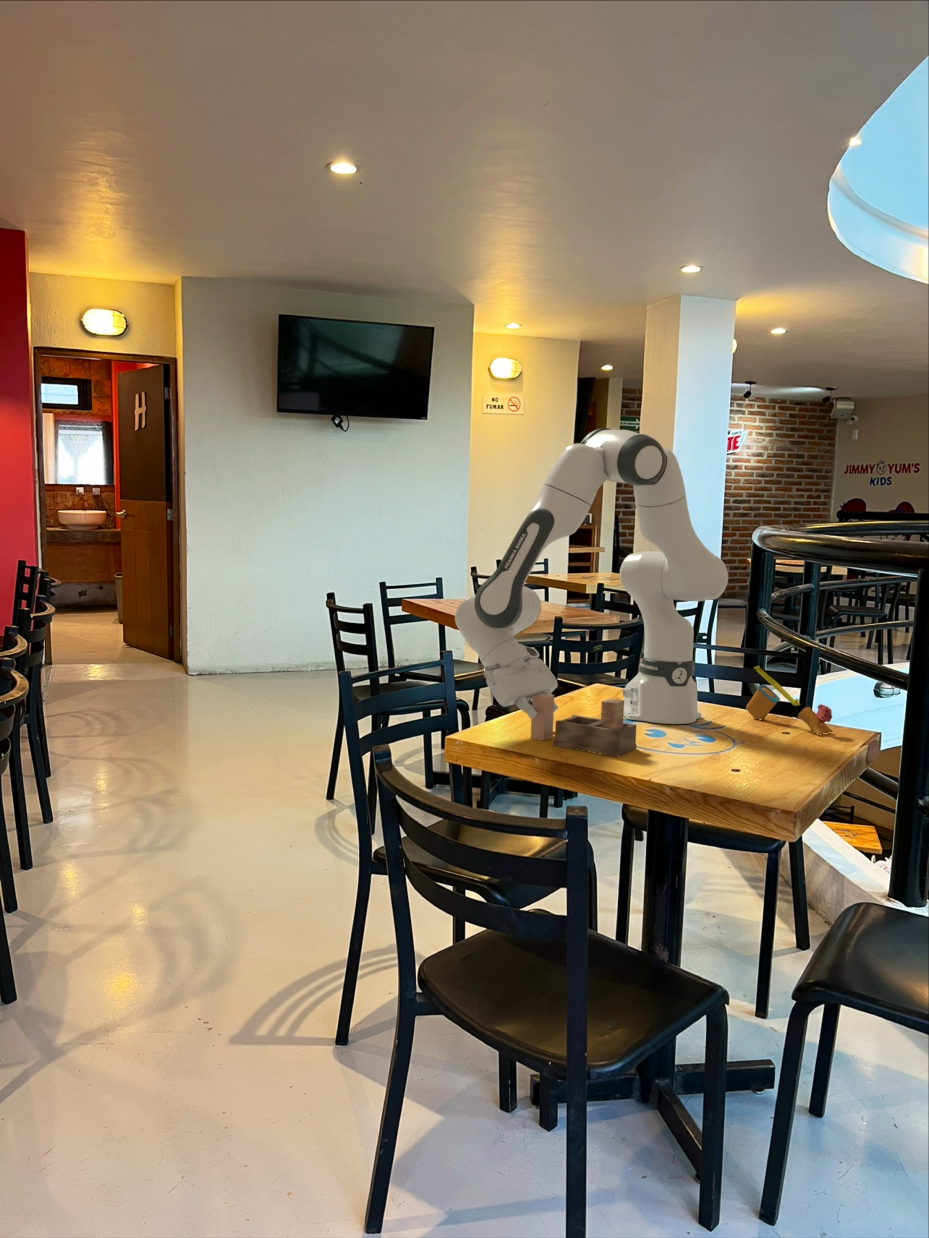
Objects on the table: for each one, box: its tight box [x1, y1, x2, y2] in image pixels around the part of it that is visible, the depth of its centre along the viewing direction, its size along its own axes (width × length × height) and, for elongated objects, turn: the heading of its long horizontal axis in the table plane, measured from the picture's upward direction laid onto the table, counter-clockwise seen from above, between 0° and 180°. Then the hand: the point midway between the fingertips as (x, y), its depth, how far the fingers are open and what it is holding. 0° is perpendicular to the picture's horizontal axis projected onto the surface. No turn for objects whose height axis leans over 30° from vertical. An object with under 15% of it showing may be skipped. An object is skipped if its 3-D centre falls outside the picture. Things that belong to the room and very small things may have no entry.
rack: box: [553, 698, 637, 758], centre depth 183 cm, size 14×9×10 cm, turn 56°
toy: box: [745, 665, 833, 735], centre depth 209 cm, size 5×22×15 cm
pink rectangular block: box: [530, 694, 555, 741], centre depth 190 cm, size 3×4×9 cm
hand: (545, 713), depth 189 cm, fingers open, 6 cm apart
